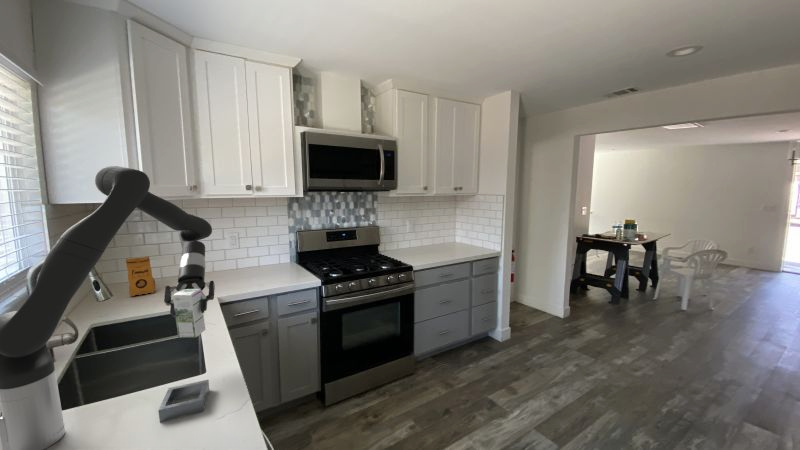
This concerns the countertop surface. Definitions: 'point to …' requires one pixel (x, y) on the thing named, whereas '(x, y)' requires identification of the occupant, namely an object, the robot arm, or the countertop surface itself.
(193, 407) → the gray square tray
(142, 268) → the coffee package
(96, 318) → the countertop surface
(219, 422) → the countertop surface
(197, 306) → the syrup box
